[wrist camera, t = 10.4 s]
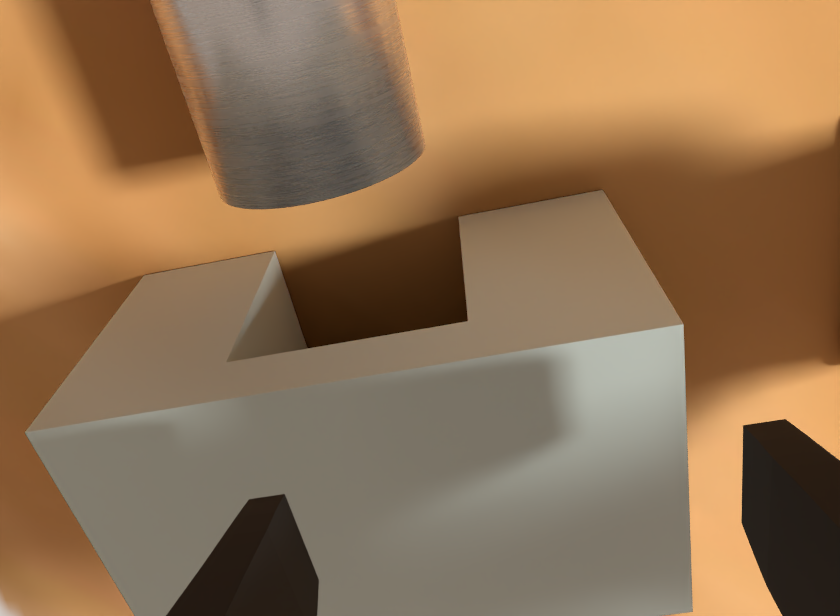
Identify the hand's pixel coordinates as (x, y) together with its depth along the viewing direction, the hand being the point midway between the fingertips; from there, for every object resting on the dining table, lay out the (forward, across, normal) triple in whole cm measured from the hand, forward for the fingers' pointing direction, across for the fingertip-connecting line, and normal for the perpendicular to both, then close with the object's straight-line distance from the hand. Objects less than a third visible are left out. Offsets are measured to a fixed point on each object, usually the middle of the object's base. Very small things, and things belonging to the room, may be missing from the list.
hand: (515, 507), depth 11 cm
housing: (+10, +3, +3) cm, 11 cm away
